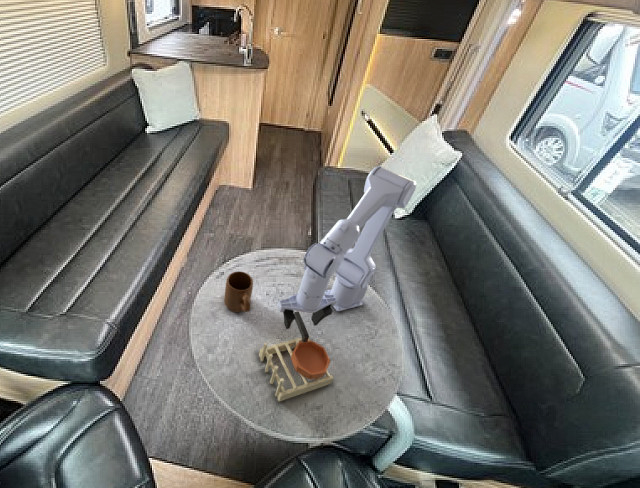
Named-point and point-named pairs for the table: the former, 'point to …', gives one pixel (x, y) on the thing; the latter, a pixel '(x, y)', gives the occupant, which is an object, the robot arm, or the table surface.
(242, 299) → the mug
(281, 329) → the table surface
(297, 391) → the rack
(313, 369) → the pan
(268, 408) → the table surface
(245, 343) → the table surface
